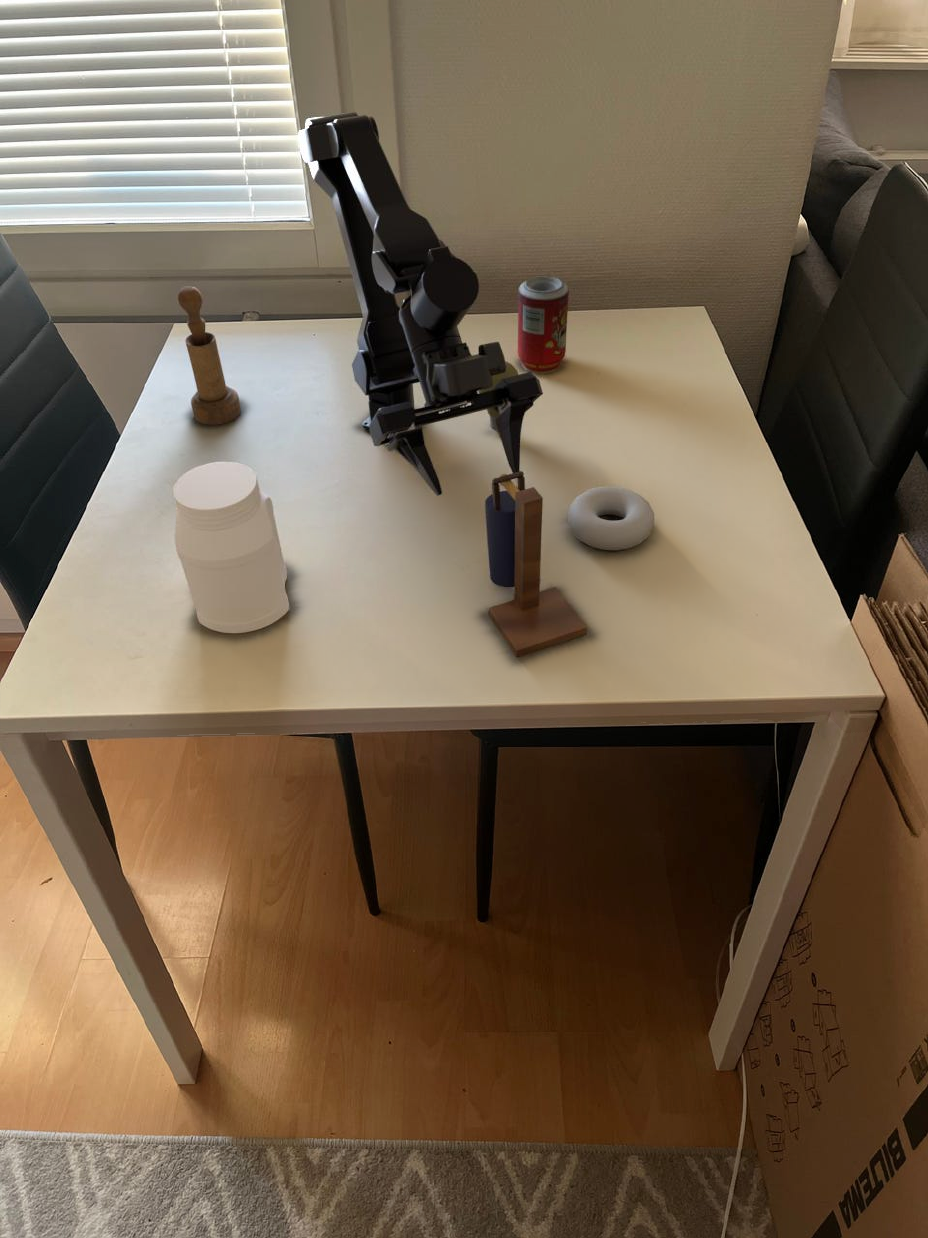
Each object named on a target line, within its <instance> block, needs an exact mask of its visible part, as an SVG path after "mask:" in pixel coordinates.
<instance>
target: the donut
mask: <svg viewBox="0 0 928 1238" xmlns="http://www.w3.org/2000/svg"><path fill="white" fill-rule="evenodd" d="M606 515H607V516H616V517H619V518H622V519H620V520H607V519H604V518H601V516H606ZM567 523H568V526H569V528H570V531H571V532H572V534H574V536H575V537H576V538H577V539H578V540H579V541H581V542H583V543H585V545H588V546H589V547H591V548H596V549H600V550H602V551H603V550H604V551H621V550H627V549H630V548H632V547H635V546H638V545H640V544H641V543H642V542H644V541H645V540H646V539H647V538H648V537H649V536H650V534H651V533H652V531H653V530H654V527H655V513H654V510H653V507H652V506H651V504H650V502H649V501H648V500H646V498H645V497H643V496H642V495H641V494H639V493H637V492H635V491H634V490H631V489H629V488H625V487H622V486H621V487H620V486H613V485H612V486H611V485H607V486H597V487H594V488H592V489H588V490H586V491H584V492H582V493H581V494H579V495H577V496H576V498H575V499H574V500H573V502H572V503H571V504H570V506H569V508H568V513H567Z"/></svg>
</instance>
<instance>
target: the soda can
mask: <svg viewBox="0 0 928 1238" xmlns="http://www.w3.org/2000/svg"><path fill="white" fill-rule="evenodd" d="M569 289H570V288H569V286H568V284H566V283H565V281H564V280H562V279H561V278H560V279H559V278H557V277H554V276H542V275H538V276H537V275H536V276H534V277H531V278H528V279H526V280H525V281H524V282H522V283H521V284H520V285H519V287H518V289H517V290H518V293H517V294H518V297H517V298H518V302H517V356H518V358H519V361H520V362H521V365H522V367H523V368H524V369H525V370H526V371H528V372H531V373H534V374H535V373H536V374H548V373H552V372H554V371H557V370H558V369H559V368H560V366H561V363H562V362H563V359H564V358H565V356H566V352H567V349H566V348H567V329H568V310H569V294H570V290H569Z"/></svg>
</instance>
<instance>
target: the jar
mask: <svg viewBox="0 0 928 1238" xmlns="http://www.w3.org/2000/svg"><path fill="white" fill-rule="evenodd" d="M260 489H261V488H260V485H259V482H258V477H257V475H256V473H255V472H254V470H252V468H250V467H248V466H247V465H245V464H242V463H239V462H235V461H215V462H209V463H205V464H202V465H199V466H196V467H194V468H192V469H189V470H188V471H186V472H184V474H182V475H181V476H180V477H179V478H178V480H176V482H175V484H174V486H173V489H172V496H173V499H174V503H175V506H176V516H175V517H176V518H175V528H174V529H175V530H174V543H175V548H176V549H175V551H176V553H177V556H178V559H179V560H180V563H181V566H182V569H183V573H184V576H185V579H186V582H187V585H188V589H189V592H190V595H191V598H192V602H193V605H194V608H195V611H196V617H197V620H198V623H199V624H201V626H203V627H205V628H206V629H209V630H211V631H215V632H218V633H224V634H244V633H250V632H255V631H257V630H260V629H263V628H266V627H268V626H270V625H272V624H274V623H275V622H278V621H279V620H280V619H281V618H282V617H284V616H285V615H286V614H287V613H288V612H289V611H290V602H289V601H290V600H289V597H288V594H287V591H286V581H287V579H288V571H287V567H286V562H285V560H284V556H283V555H284V554H283V552H282V551H283V550H282V546H281V541H280V537H279V532H278V527H277V523H276V517H275V514H274V505H273V500H272V498H271V497H269V496H268V495H266V494H265V493H264V492H262V491H261V490H260Z"/></svg>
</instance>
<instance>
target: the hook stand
mask: <svg viewBox="0 0 928 1238" xmlns="http://www.w3.org/2000/svg"><path fill="white" fill-rule="evenodd" d="M504 475H508V474H507V473H502V474H500V475H499V476H498V477H501V476H504ZM499 485H500V486H502V487H503V488H504V489H505V491H507V492H508V493H509V494H510V495H511V497H512V498H513V499H514V500H515V585H514V587H513V588H514V590H513V591H514V595H513V597H514V599H511V600H508V601H504V602H503V603H499V604H496V605H492V606H490V607H488V615H489V617H490V619H491V620H492V622H493V623H494V625H495V626H496V628H497V629H498V631H499V632H500V634H501V635H502V637H503V638H504V640H505V641H506V643H507V644H508V646H509V647H510V649H511V651H512V652H513V654H514V655H515V656H516V658H519V657H522V656H525V655H528V654H530V653H534V652H537V651H539V650H542V649H546V648H549V647H551V646H555V645H558V644H561V643H563V642H567V641H569V640H572V639H576V638H579V637H581V636H585V635H587V632H588V627H587V625H586V623H585V622H584V621H583V620H582V619H581V617H580V615H579V614H578V613H577V612H576V611H575V609H574V608H573V607H572V605H571V604H570V603H569V602H568V600H567V599H566V597H565V596H564V595H563V594H562V592H561V591H560V590H559V589H558V587H557V586H553V587H550V588H546V589H543V590H541V588H540V587H541V564H542V563H541V562H542V537H543V536H542V534H543V533H542V532H543V531H542V530H543V506H544V505H543V504H544V503H543V502H544V497H543V496H542V495H541V494H540V493H539V492H538V490H537V489H536V487H534V486H533V487H529V488H525V490H521V491H520V490H519V489H518V486H516V484H515V483H514V482H513V480H509V481H505V482H502V483H499Z"/></svg>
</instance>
